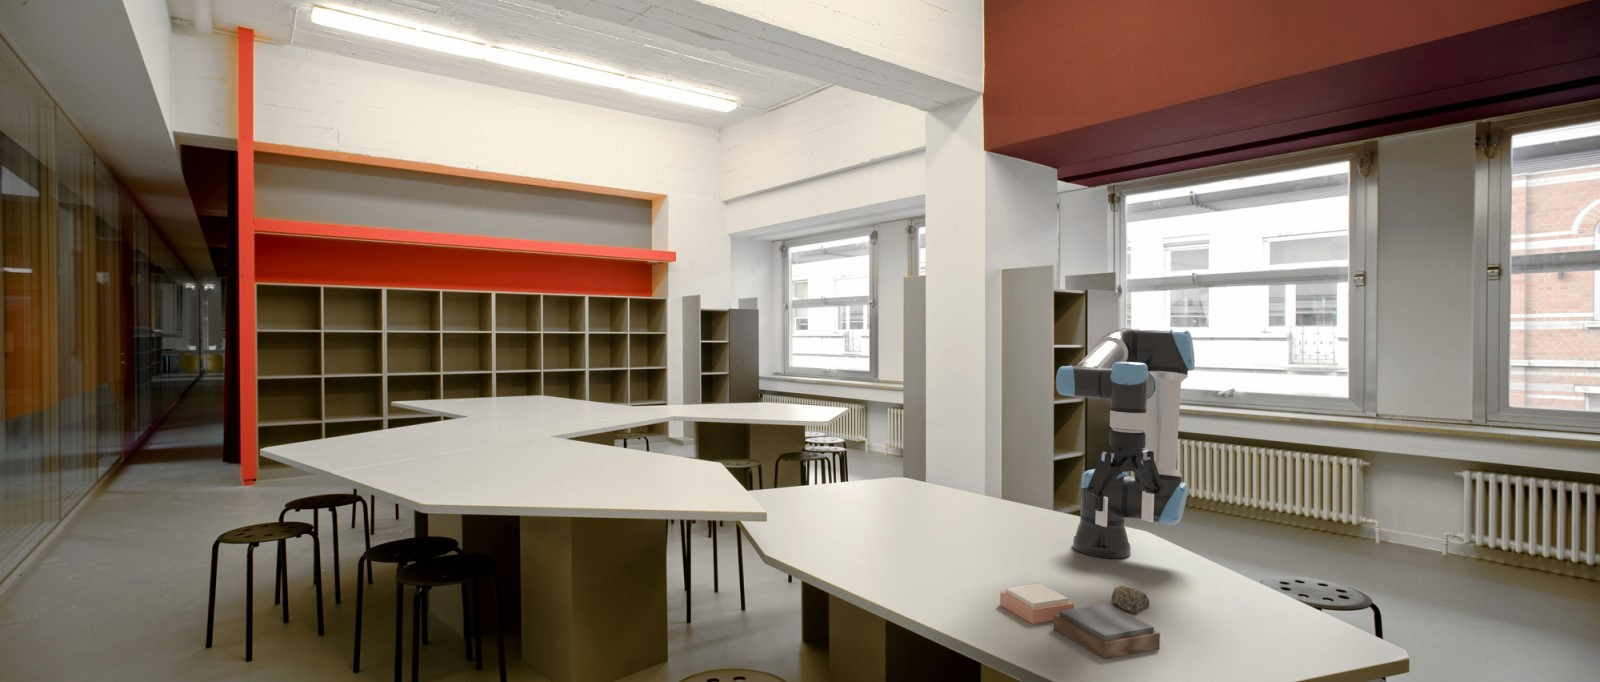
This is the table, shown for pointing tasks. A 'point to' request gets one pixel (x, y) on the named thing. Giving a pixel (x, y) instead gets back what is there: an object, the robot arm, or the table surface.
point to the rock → (1130, 599)
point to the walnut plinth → (1106, 631)
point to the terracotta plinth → (1034, 602)
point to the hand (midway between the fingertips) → (1124, 523)
